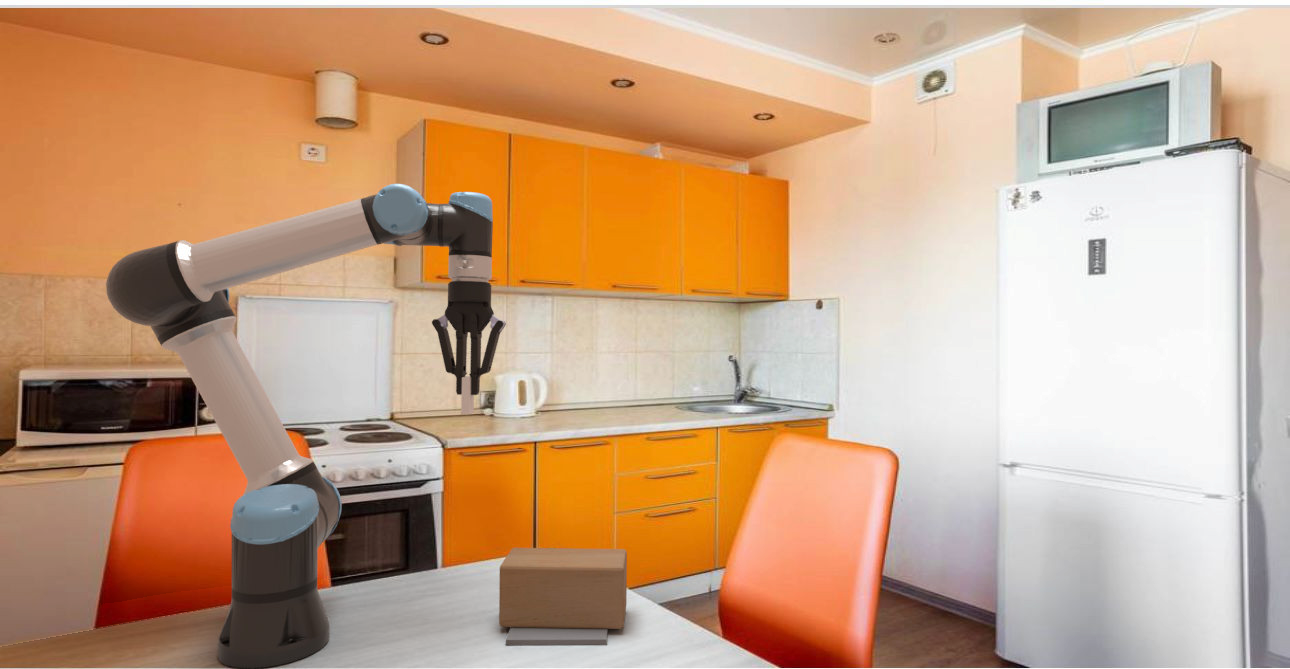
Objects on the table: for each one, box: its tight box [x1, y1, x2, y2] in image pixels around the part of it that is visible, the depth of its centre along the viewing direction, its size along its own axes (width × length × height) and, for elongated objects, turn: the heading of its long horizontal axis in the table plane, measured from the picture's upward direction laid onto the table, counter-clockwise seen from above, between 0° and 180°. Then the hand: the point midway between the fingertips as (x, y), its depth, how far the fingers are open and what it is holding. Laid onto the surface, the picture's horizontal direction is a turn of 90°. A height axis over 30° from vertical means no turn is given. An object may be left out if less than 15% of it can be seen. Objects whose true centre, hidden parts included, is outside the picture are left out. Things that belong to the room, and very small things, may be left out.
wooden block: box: [498, 547, 628, 630], centre depth 119 cm, size 10×10×20 cm
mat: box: [505, 627, 608, 646], centre depth 120 cm, size 16×20×1 cm
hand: (467, 413), depth 128 cm, fingers closed
